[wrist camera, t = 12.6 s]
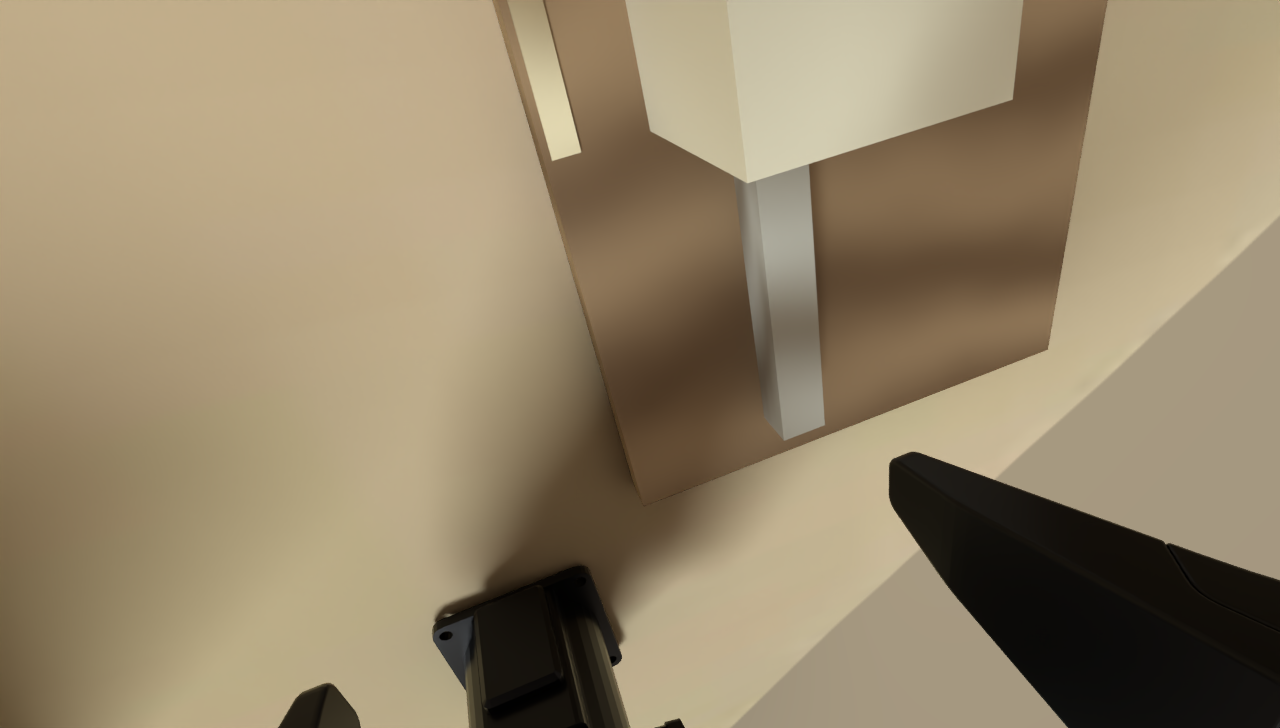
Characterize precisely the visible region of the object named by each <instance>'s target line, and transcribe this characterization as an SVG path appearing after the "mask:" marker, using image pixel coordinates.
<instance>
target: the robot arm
mask: <svg viewBox="0 0 1280 728" xmlns="http://www.w3.org/2000/svg"><path fill="white" fill-rule="evenodd" d="M889 498H890V502H891V505H892V507H893V509H894V510H895V512H896V513H897V515H898V516H899V518H900V519H901V520H902V522H903V523H904V525H905V526H906V528H907V529H908V531H909V532H910V533H911V535H912V536H913V538H914V539H915V541H916V542H917V544H918V545H919V546H920V548H921V549H922V551H923V552H924V554H925V555H926V557H927V558H928V559H929V561H930V562H931V564H932V565H933V567H934V568H935V570H936V571H937V572H938V574H939V575H940V577H941V578H942V579H943V580H944V582H945V583H946V585H947V586H948V588H949V589H950V590H951V591H952V592H953V594H954V595H955V596H956V597H957V599H958V600H959V601H960V602H961V603H962V604H963V606H964V607H965V608H966V609H967V610H968V611H969V612H970V614H971V615H972V616H973V617H974V618H975V620H976V621H977V622H978V623H979V624H980V625H981V626H982V628H983V629H984V630H985V631H986V633H987V634H988V635H989V636H990V637H991V638H992V639H993V641H995V643H996V644H997V645H998V646H999V647H1000V649H1001V650H1002V651H1003V652H1004V654H1005V655H1007V657H1008V658H1009V659H1010V661H1011V662H1012V663H1013V664H1014V665H1015V666H1016V667H1017V669H1018V670H1019V671H1020V672H1021V673H1022V675H1023V676H1024V677H1025V678H1026V679H1027V680H1028V682H1029V683H1030V684H1031V685H1032V686H1033V687H1034V688H1035V690H1036V691H1037V692H1038V693H1039V694H1040V696H1041V697H1042V698H1043V699H1044V700H1045V701H1046V703H1047V704H1048V705H1049V706H1050V707H1051V708H1052V710H1053V711H1054V712H1055V713H1056V714H1057V716H1058V717H1059V718H1060V719H1061V720H1062V721H1063V723H1065V725H1066V726H1067V727H1068V728H1280V580H1277V579H1274V578H1271V577H1268V576H1264V575H1261V574H1258V573H1255V572H1251V571H1248V570H1246V569H1243V568H1240V567H1237V566H1234V565H1231V564H1228V563H1225V562H1222V561H1219V560H1216V559H1213V558H1211V557H1208V556H1204V555H1202V554H1199V553H1196V552H1193V551H1191V550H1188V549H1185V548H1182V547H1179V546H1176V545H1174V544H1171V543H1168V544H1165V543H1164V541H1162V540H1159V539H1157V538H1154V537H1151V536H1149V535H1146V534H1143V533H1140V532H1137V531H1135V530H1132V529H1129V528H1126V527H1124V526H1120V525H1118V524H1115V523H1112V522H1110V521H1107V520H1104V519H1101V518H1099V517H1095V516H1093V515H1090V514H1087V513H1085V512H1082V511H1079V510H1076V509H1073V508H1071V507H1068V506H1065V505H1062V504H1060V503H1057V502H1054V501H1051V500H1049V499H1046V498H1043V497H1040V496H1038V495H1035V494H1032V493H1029V492H1026V491H1024V490H1021V489H1018V488H1015V487H1013V486H1010V485H1007V484H1004V483H1001V482H999V481H996V480H993V479H990V478H988V477H985V476H982V475H979V474H977V473H974V472H971V471H968V470H966V469H963V468H960V467H957V466H954V465H952V464H949V463H946V462H943V461H941V460H938V459H935V458H932V457H929V456H927V455H924V454H921V453H918V452H909V453H907V454H904V455H902V456H899V457H897V458H894V459H893V460H892V461H891V462H890V465H889ZM578 578H580V579H578ZM576 579H577V580H576ZM446 631H448V632H446ZM432 635H433V641H434V643H435V644H436V646H437V647H438V649H439V650H440V652H441V653H442V655H443V656H444V658H445V659H446V661H447V663H448V664H449V666H450V667H451V669H452V670H453V672H454V673H455V675H456V676H457V678H458V679H459V681H460V683H461V684H462V686H463V687H464V689H465V690H466V693H467V706H468V719H469V728H630V725H629V722H628V718H627V715H626V712H625V708H624V705H623V702H622V698H621V695H620V692H619V688H618V685H617V682H616V678H615V675H614V672H613V668H612V667H613V666H615V665H617V664H618V663H619V662H620V661H621V659H622V655H621V652H620V648H619V646H618V643H617V641H616V638H615V635H614V633H613V630H612V628H611V625H610V622H609V620H608V617H607V615H606V612H605V609H604V607H603V604H602V601H601V599H600V596H599V594H598V591H597V588H596V586H595V583H594V581H593V578H592V575H591V573H590V570H589V569H588V568H587V567H585V566H576V567H573V568H571V569H568V570H566V571H563V572H561V573H558V574H555V575H553V576H550V577H548V578H545V579H543V580H540V581H538V582H535V583H533V584H530V585H528V586H525V587H523V588H520V589H518V590H515V591H513V592H510V593H508V594H505V595H503V596H500V597H498V598H495V599H492V600H490V601H487V602H485V603H482V604H480V605H477V606H475V607H472V608H470V609H467V610H465V611H462V612H460V613H457V614H455V615H452V616H450V617H447V618H445V619H442V620H440V621H438V622H436V624H435V625H434V626H433V629H432ZM278 728H361V727H360V722H359V719H358V716H357V714H356V712H355V710H354V709H353V708H352V707H351V705H350V704H349V703H348V702H347V700H346V699H345V698H344V697H343V695H342V694H341V693H340V692H339V690H338V689H337V688H336V687H335V686H334V685H333V684H331V683H324V684H322V685H319V686H317V687H314V688H312V689H309V690H306V691H304V692H302V693H301V694H300V695H299V696H298V697H297V698H296V699H295V701H294V702H293V704H292V706H291V707H290V709H289V711H288V712H287V714H286V716H285V717H284V719H283V721H282V722H281V724H280V726H279V727H278ZM656 728H685V727H684V725H683V724H682V722H681V720H680V719H675V720H671V721H667V722H665V724H664V725H663V726H660V727H656Z"/></svg>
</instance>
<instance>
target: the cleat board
mask: <svg viewBox="0 0 1280 728" xmlns="http://www.w3.org/2000/svg"><path fill="white" fill-rule="evenodd" d="M493 4H494V7H495V10H496V14H497V17H498V21H499V24H500V28H501V31H502V34H503V38H504V41H505V45H506V48H507V52H508V55H509V58H510V62H511V65H512V69H513V72H514V76H515V79H516V82H517V86H518V89H519V93H520V96H521V99H522V103H523V106H524V110H525V113H526V117H527V120H528V123H529V127H530V130H531V134H532V137H533V141H534V144H535V147H536V151H537V154H538V158H539V161H540V165H541V168H542V171H543V175H544V178H545V182H546V185H547V189H548V192H549V195H550V199H551V202H552V206H553V209H554V212H555V216H556V219H557V223H558V226H559V230H560V233H561V236H562V240H563V243H564V247H565V250H566V254H567V257H568V260H569V264H570V267H571V271H572V274H573V278H574V281H575V284H576V288H577V291H578V295H579V298H580V301H581V305H582V308H583V312H584V315H585V319H586V322H587V325H588V329H589V332H590V336H591V339H592V343H593V346H594V349H595V353H596V356H597V360H598V363H599V367H600V370H601V373H602V377H603V380H604V384H605V387H606V391H607V394H608V397H609V401H610V404H611V408H612V411H613V414H614V418H615V421H616V425H617V428H618V432H619V435H620V438H621V442H622V445H623V449H624V452H625V456H626V459H627V462H628V466H629V469H630V473H631V476H632V480H633V483H634V486H635V488H636V491H637V493H638V495H639V497H640V499H641V502H642V504H643V506H646V505H649V504H651V503H654V502H656V501H659V500H662V499H664V498H667V497H669V496H672V495H674V494H677V493H680V492H682V491H685V490H687V489H690V488H692V487H695V486H698V485H700V484H703V483H705V482H708V481H710V480H713V479H716V478H718V477H721V476H723V475H726V474H728V473H731V472H734V471H736V470H739V469H741V468H744V467H746V466H749V465H752V464H754V463H757V462H759V461H762V460H765V459H767V458H770V457H772V456H775V455H777V454H780V453H783V452H785V451H788V450H790V449H793V448H795V447H798V446H801V445H803V444H806V443H808V442H811V441H813V440H816V439H819V438H821V437H824V436H826V435H829V434H831V433H834V432H837V431H839V430H842V429H844V428H847V427H849V426H852V425H855V424H857V423H860V422H862V421H865V420H868V419H870V418H873V417H875V416H878V415H880V414H883V413H886V412H888V411H891V410H893V409H896V408H898V407H901V406H904V405H906V404H909V403H911V402H914V401H916V400H919V399H922V398H924V397H927V396H929V395H932V394H934V393H937V392H940V391H942V390H945V389H947V388H950V387H952V386H955V385H958V384H960V383H963V382H965V381H968V380H971V379H973V378H976V377H978V376H981V375H983V374H986V373H989V372H991V371H994V370H996V369H999V368H1001V367H1004V366H1007V365H1009V364H1012V363H1014V362H1017V361H1019V360H1022V359H1025V358H1027V357H1030V356H1032V355H1035V354H1037V353H1040V352H1043V351H1045V350H1048V345H1049V339H1050V333H1051V327H1052V321H1053V316H1054V310H1055V304H1056V298H1057V292H1058V286H1059V280H1060V275H1061V269H1062V263H1063V257H1064V251H1065V245H1066V240H1067V234H1068V228H1069V222H1070V216H1071V210H1072V205H1073V199H1074V193H1075V187H1076V181H1077V175H1078V170H1079V164H1080V158H1081V152H1082V146H1083V140H1084V135H1085V129H1086V123H1087V117H1088V111H1089V105H1090V100H1091V94H1092V88H1093V82H1094V76H1095V70H1096V65H1097V59H1098V53H1099V47H1100V41H1101V35H1102V29H1103V24H1104V18H1105V12H1106V6H1107V0H1023V8H1022V17H1021V27H1020V36H1019V45H1018V54H1017V64H1016V73H1015V82H1014V91H1013V100H1010V101H1007V102H1003V103H1000V104H997V105H994V106H991V107H988V108H984V109H981V110H978V111H975V112H972V113H969V114H965V115H962V116H959V117H956V118H953V119H950V120H947V121H943V122H940V123H937V124H934V125H931V126H928V127H924V128H921V129H918V130H915V131H912V132H909V133H905V134H902V135H899V136H896V137H893V138H890V139H886V140H883V141H880V142H877V143H874V144H871V145H867V146H864V147H861V148H858V149H855V150H852V151H848V152H845V153H842V154H839V155H836V156H833V157H829V158H826V159H823V160H820V161H817V162H814V163H810V164H807V165H804V166H801V167H798V168H795V169H791V170H788V171H785V172H782V173H779V174H776V175H772V176H769V177H766V178H763V179H760V180H757V181H753V182H750V183H746V182H744V181H742V180H740V179H738V178H737V177H735V176H733V175H731V174H729V173H727V172H725V171H724V170H722V169H720V168H718V167H716V166H714V165H712V164H711V163H709V162H707V161H705V160H703V159H701V158H699V157H698V156H696V155H694V154H692V153H690V152H688V151H686V150H685V149H683V148H681V147H679V146H677V145H675V144H673V143H672V142H670V141H668V140H666V139H664V138H662V137H660V136H658V135H657V134H655V133H653V132H651V131H650V127H649V122H648V116H647V111H646V106H645V101H644V96H643V90H642V85H641V80H640V75H639V69H638V64H637V59H636V54H635V49H634V43H633V38H632V33H631V28H630V23H629V17H628V12H627V7H626V2H625V0H493Z"/></svg>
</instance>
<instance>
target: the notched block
mask: <svg viewBox="0 0 1280 728" xmlns="http://www.w3.org/2000/svg"><path fill="white" fill-rule="evenodd" d="M625 2H626V7H627V12H628V17H629V23H630V28H631V33H632V38H633V43H634V49H635V54H636V59H637V64H638V69H639V75H640V80H641V85H642V90H643V96H644V101H645V106H646V111H647V116H648V122H649V127H650V131H651V132H653V133H655V134H657V135H658V136H660V137H662V138H664V139H666V140H668V141H670V142H672V143H673V144H675V145H677V146H679V147H681V148H683V149H685V150H686V151H688V152H690V153H692V154H694V155H696V156H698V157H699V158H701V159H703V160H705V161H707V162H709V163H711V164H712V165H714V166H716V167H718V168H720V169H722V170H724V171H725V172H727V173H729V174H731V175H733V176H735V177H737V178H738V179H740V180H742V181H744V182H746V183H750V182H753V181H757V180H760V179H763V178H766V177H769V176H772V175H776V174H779V173H782V172H785V171H788V170H791V169H795V168H798V167H801V166H804V165H807V164H810V163H814V162H817V161H820V160H823V159H826V158H829V157H833V156H836V155H839V154H842V153H845V152H848V151H852V150H855V149H858V148H861V147H864V146H867V145H871V144H874V143H877V142H880V141H883V140H886V139H890V138H893V137H896V136H899V135H902V134H905V133H909V132H912V131H915V130H918V129H921V128H924V127H928V126H931V125H934V124H937V123H940V122H943V121H947V120H950V119H953V118H956V117H959V116H962V115H965V114H969V113H972V112H975V111H978V110H981V109H984V108H988V107H991V106H994V105H997V104H1000V103H1003V102H1007V101H1010V100H1013V91H1014V82H1015V73H1016V64H1017V54H1018V45H1019V36H1020V27H1021V17H1022V8H1023V0H625Z"/></svg>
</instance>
